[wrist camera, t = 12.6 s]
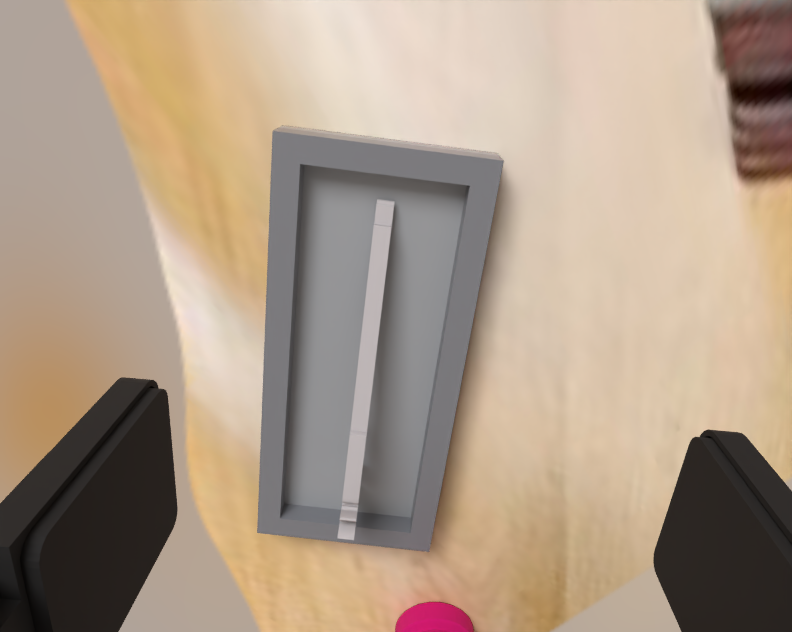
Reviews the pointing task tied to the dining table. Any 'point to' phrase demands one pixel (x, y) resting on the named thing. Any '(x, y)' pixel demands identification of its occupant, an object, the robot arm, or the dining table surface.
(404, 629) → the pepper mill
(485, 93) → the dining table surface
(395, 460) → the tool case
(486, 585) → the dining table surface
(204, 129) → the dining table surface
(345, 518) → the caliper
